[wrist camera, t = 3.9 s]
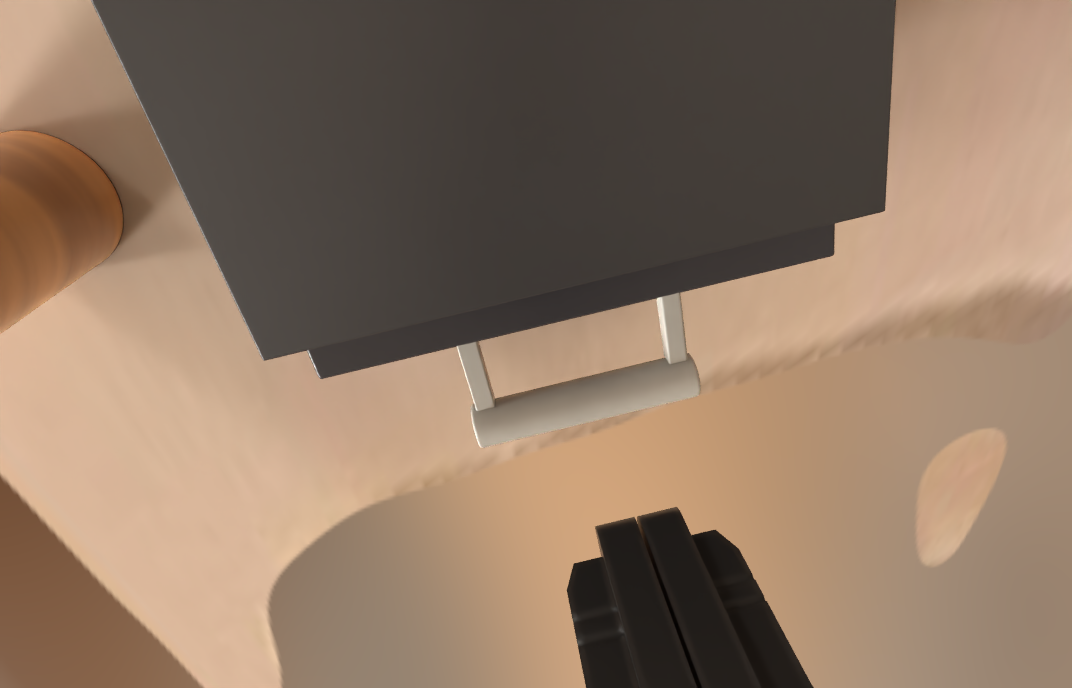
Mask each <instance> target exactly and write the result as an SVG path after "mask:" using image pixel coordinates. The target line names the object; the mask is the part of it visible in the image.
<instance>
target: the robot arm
mask: <svg viewBox="0 0 1072 688" xmlns="http://www.w3.org/2000/svg"><path fill="white" fill-rule="evenodd" d="M637 522H638V524H637ZM595 529H596V534H597V538H598V543H599V547H600V552H601V556H602V557H600V558H595V559H591V560H587V561H583V562H579V563H575V564H574V565H573V569H572V573H571V576H570V580H569V585H568V588H567V593H568V598H569V604H570V608H571V614H572V618H573V622H574V629H575V633H576V639H577V643H578V649H579V654H580V659H581V664H582V669H583V674H584V678H585V684H586V688H813V686H812V685H811V683H810V681H809V679H808V677H807V675H806V674H805V672H804V670H803V668H802V666H801V664H800V662H799V660H798V659H797V657H796V655H795V653H794V651H793V650H792V648H791V646H790V644H789V642H788V640H787V638H786V637H785V634H784V632H783V631H782V629H781V627H780V625H779V623H778V622H777V620H776V618H775V616H774V614H773V612H772V610H771V608H770V606H769V605H768V603H767V601H765V599H764V595H763V593H762V591H761V590H760V588H759V586H758V584H757V582H756V580H754V578H753V575H752V573H751V571H750V569H749V567H748V565H747V563H746V562H745V560H744V558H743V556H742V554H741V552H740V550H739V549H738V548H737V547H736V546H735V545H733V544H732V543H731V542H730V541H728V540H727V539H726V538H725V537H724V536H722V535H721V534H720V533H719V532H718V531H716V530H711V531H708V532H703V533H699V534H695V535H691V534H690V532H689V529H688V527H687V525H686V523H685V521H684V519H683V516H682V514H681V512H680V510H679V509H678V508H677V507H674V508H670V509H666V510H662V511H658V512H654V513H649V514H646V515H642V516H638V517H637V521H636V519H635V518H634V517H632V518H628V519H624V520H620V521H616V522H611V523H608V524H604V525H599V526H596V527H595Z"/></svg>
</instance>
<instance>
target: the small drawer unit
mask: <svg viewBox="0 0 1072 688" xmlns="http://www.w3.org/2000/svg"><path fill="white" fill-rule="evenodd" d="M91 2H92V4H93V6H94V8H95V10H96V12H97V14H98V16H99V18H100V20H101V22H102V25H103V27H104V29H105V31H106V33H107V35H108V37H109V39H110V41H111V43H112V45H113V48H114V50H115V52H116V54H117V56H118V58H119V60H120V62H121V64H122V66H123V68H124V71H125V73H126V75H127V77H128V79H129V81H130V83H131V85H132V87H133V89H134V91H135V94H136V96H137V98H138V100H139V102H140V104H141V106H142V108H143V110H144V112H145V114H146V117H147V119H148V121H149V123H150V125H151V127H152V129H153V131H154V133H155V135H156V137H157V140H158V142H159V144H160V146H161V148H162V150H163V152H164V154H165V156H166V158H167V160H168V163H169V165H170V167H171V169H172V171H173V173H174V175H175V177H176V179H177V181H178V183H179V186H180V188H181V190H182V192H183V194H184V196H185V198H186V200H187V202H188V204H189V206H190V209H191V211H192V213H193V215H194V217H195V219H196V221H197V223H198V225H199V227H200V229H201V232H202V234H203V236H204V238H205V240H206V242H207V244H208V246H209V248H210V250H211V252H212V255H213V257H214V259H215V261H216V263H217V265H218V267H219V269H220V271H221V273H222V275H223V278H224V280H225V282H226V284H227V286H228V288H229V290H230V292H231V294H232V296H233V298H234V301H235V303H236V305H237V307H238V309H239V311H240V313H241V315H242V317H243V319H244V321H245V324H246V326H247V328H248V330H249V332H250V334H251V336H252V338H253V340H254V342H255V344H256V347H257V349H258V351H259V353H260V355H261V357H262V359H263V360H269V359H273V358H277V357H282V356H286V355H290V354H294V353H298V352H302V351H307V350H311V349H315V348H319V347H323V346H327V345H331V344H336V343H340V342H344V341H348V340H352V339H356V338H360V337H365V336H369V335H373V334H377V333H381V332H385V331H390V330H394V329H398V328H402V327H406V326H410V325H414V324H419V323H423V322H427V321H431V320H435V319H439V318H444V317H448V316H452V315H456V314H460V313H464V312H468V311H473V310H477V309H481V308H485V307H489V306H493V305H498V304H502V303H506V302H510V301H514V300H518V299H522V298H527V297H531V296H535V295H539V294H543V293H547V292H552V291H556V290H560V289H564V288H568V287H572V286H576V285H581V284H585V283H589V282H593V281H597V280H601V279H605V278H610V277H614V276H618V275H622V274H626V273H630V272H635V271H639V270H643V269H647V268H651V267H655V266H659V265H664V264H668V263H672V262H676V261H680V260H684V259H689V258H693V257H697V256H701V255H705V254H709V253H713V252H718V251H722V250H726V249H730V248H734V247H738V246H743V245H747V244H751V243H755V242H759V241H763V240H767V239H772V238H776V237H780V236H784V235H788V234H792V233H797V232H801V231H805V230H809V229H813V228H817V227H821V226H826V225H830V224H834V223H838V222H842V221H846V220H850V219H855V218H859V217H863V216H867V215H871V214H875V213H880V212H883V211H885V200H886V181H887V161H888V142H889V122H890V103H891V84H892V64H893V45H894V25H895V6H896V0H91Z"/></svg>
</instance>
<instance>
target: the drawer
mask: <svg viewBox="0 0 1072 688" xmlns="http://www.w3.org/2000/svg"><path fill="white" fill-rule="evenodd" d="M834 231H835V223H834V224H830V225H826V226H821V227H817V228H813V229H809V230H805V231H801V232H797V233H792V234H788V235H784V236H780V237H776V238H772V239H767V240H763V241H759V242H755V243H751V244H747V245H743V246H738V247H734V248H730V249H726V250H722V251H718V252H713V253H709V254H705V255H701V256H697V257H693V258H689V259H684V260H680V261H676V262H672V263H668V264H664V265H659V266H655V267H651V268H647V269H643V270H639V271H635V272H630V273H626V274H622V275H618V276H614V277H610V278H605V279H601V280H597V281H593V282H589V283H585V284H581V285H576V286H572V287H568V288H564V289H560V290H556V291H552V292H547V293H543V294H539V295H535V296H531V297H527V298H522V299H518V300H514V301H510V302H506V303H502V304H498V305H493V306H489V307H485V308H481V309H477V310H473V311H468V312H464V313H460V314H456V315H452V316H448V317H444V318H439V319H435V320H431V321H427V322H423V323H419V324H414V325H410V326H406V327H402V328H398V329H394V330H390V331H385V332H381V333H377V334H373V335H369V336H365V337H360V338H356V339H352V340H348V341H344V342H340V343H336V344H331V345H327V346H323V347H319V348H315V349H311V350H307V352H308V354H309V356H310V359H311V361H312V363H313V366H314V368H315V370H316V372H317V375H318V377H319V378H320V379H323V378H328V377H332V376H336V375H340V374H344V373H348V372H353V371H357V370H361V369H365V368H369V367H373V366H377V365H382V364H386V363H390V362H394V361H398V360H402V359H406V358H411V357H415V356H419V355H423V354H427V353H431V352H436V351H440V350H444V349H448V348H452V347H456V346H457V350H458V353H459V356H460V359H461V363H462V366H463V369H464V372H465V376H466V379H467V382H468V385H469V389H470V392H471V395H472V398H473V402H474V404H473V405H471V418H472V423H473V428H474V432H475V436H476V439H477V442H478V444H479V446H480V447H481V448H485V447H489V446H494V445H498V444H502V443H506V442H510V441H514V440H518V439H523V438H527V437H531V436H535V435H539V434H543V433H547V432H552V431H556V430H560V429H564V428H568V427H572V426H576V425H581V424H585V423H589V422H593V421H597V420H601V419H605V418H610V417H614V416H618V415H622V414H626V413H630V412H634V411H639V410H643V409H647V408H651V407H655V406H659V405H663V404H668V403H672V402H676V401H680V400H684V399H688V398H692V397H697V396H698V395H699V394H700V379H699V374H698V370H697V367H696V365H695V362H694V360H693V358H692V357H691V355H690V354H689V353H687V349H686V340H685V331H684V322H683V313H682V304H681V296H680V292H685V291H689V290H693V289H697V288H701V287H705V286H709V285H714V284H718V283H722V282H726V281H730V280H734V279H738V278H743V277H747V276H751V275H755V274H759V273H763V272H768V271H772V270H776V269H780V268H784V267H788V266H792V265H797V264H801V263H805V262H809V261H813V260H817V259H821V258H826V257H830V256H833V255H834ZM655 298H656V299H657V306H658V314H659V322H660V329H661V337H662V344H663V352H664V356H665V358H662V359H658V360H653V361H649V362H645V363H641V364H637V365H633V366H629V367H624V368H620V369H616V370H612V371H608V372H604V373H600V374H595V375H591V376H587V377H583V378H579V379H575V380H571V381H566V382H562V383H558V384H554V385H550V386H546V387H541V388H537V389H533V390H529V391H525V392H521V393H517V394H512V395H508V396H504V397H500V398H496V399H495V398H494V393H493V390H492V387H491V383H490V380H489V376H488V373H487V369H486V366H485V362H484V359H483V355H482V352H481V348H480V345H479V341H481V340H485V339H489V338H494V337H498V336H502V335H506V334H510V333H514V332H519V331H523V330H527V329H531V328H535V327H539V326H543V325H548V324H552V323H556V322H560V321H564V320H568V319H572V318H577V317H581V316H585V315H589V314H593V313H597V312H602V311H606V310H610V309H614V308H618V307H622V306H626V305H631V304H635V303H639V302H643V301H647V300H651V299H655Z"/></svg>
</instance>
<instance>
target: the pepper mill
mask: <svg viewBox="0 0 1072 688" xmlns="http://www.w3.org/2000/svg"><path fill="white" fill-rule="evenodd" d="M122 228H123V213H122V208H121V204H120V201H119V197H118V195H117V193H116V191H115V188H114V187H113V185H112V183H111V182H110V180H109V179H108V177H107V176H106V175H105V173H104V172H103V171H102V170H101V169H100V167H99V166H98V165H97V164H96V163H95V162H94V161H93V160H91V159H90V158H89V157H88V156H87V155H86V154H84V153H83V152H81V151H80V150H78V149H77V148H75V147H74V146H72V145H70V144H68V143H67V142H64V141H62V140H60V139H58V138H55V137H52V136H49V135H46V134H43V133H38V132H33V131H8V132H2V133H0V334H1V333H2V332H4V331H5V330H7V329H8V328H10V327H11V326H12V325H14V324H15V323H17V322H18V321H19V320H21V319H22V318H24V317H25V316H26V315H28V314H29V313H31V312H32V311H33V310H35V309H36V308H38V307H39V306H41V305H42V304H43V303H45V302H46V301H48V300H49V299H50V298H52V297H53V296H55V295H56V294H57V293H59V292H60V291H62V290H63V289H64V288H66V287H67V286H69V285H70V284H72V283H73V282H74V281H76V280H77V279H79V278H80V277H81V276H83V275H84V274H86V273H87V272H88V271H90V270H91V269H93V268H94V267H95V266H97V265H98V264H100V263H101V262H103V261H104V260H105V259H106V258H107V257H109V256H110V255H111V254H112V252H113V251H114V250H115V248H116V246H117V244H118V242H119V240H120V237H121V234H122Z"/></svg>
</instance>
